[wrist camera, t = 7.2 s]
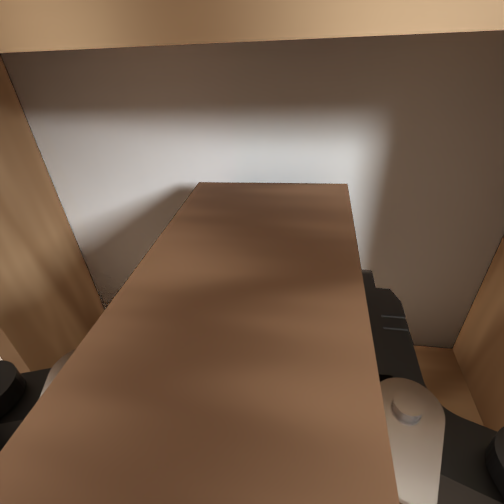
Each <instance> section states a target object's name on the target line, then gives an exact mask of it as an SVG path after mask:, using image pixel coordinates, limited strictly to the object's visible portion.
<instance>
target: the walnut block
mask: <svg viewBox="0 0 504 504" xmlns="http://www.w3.org/2000/svg"><path fill="white" fill-rule="evenodd" d="M0 504H400V502H399V496H398V490H397V484H396V478H395V472H394V466H393V459H392V453H391V447H390V441H389V435H388V429H387V423H386V417H385V411H384V405H383V398H382V392H381V386H380V380H379V374H378V368H377V362H376V356H375V350H374V344H373V337H372V331H371V325H370V319H369V313H368V307H367V301H366V295H365V289H364V283H363V276H362V270H361V264H360V258H359V252H358V246H357V240H356V234H355V228H354V222H353V215H352V209H351V203H350V197H349V191H348V185H347V184H312V183H211V182H199V183H198V185H197V186H196V187H195V189H194V190H193V191H192V193H191V194H190V195H189V197H188V198H187V200H186V201H185V202H184V204H183V205H182V206H181V208H180V209H179V210H178V212H177V213H176V214H175V216H174V217H173V218H172V220H171V221H170V223H169V224H168V225H167V227H166V228H165V229H164V231H163V232H162V233H161V235H160V236H159V237H158V239H157V240H156V241H155V243H154V244H153V246H152V247H151V248H150V250H149V251H148V252H147V254H146V255H145V256H144V258H143V259H142V260H141V262H140V263H139V265H138V266H137V267H136V269H135V270H134V271H133V273H132V274H131V275H130V277H129V278H128V279H127V281H126V282H125V283H124V285H123V286H122V288H121V289H120V290H119V292H118V293H117V294H116V296H115V297H114V298H113V300H112V301H111V302H110V304H109V305H108V306H107V308H106V309H105V311H104V312H103V313H102V315H101V316H100V317H99V319H98V320H97V321H96V323H95V324H94V325H93V327H92V328H91V329H90V331H89V332H88V334H87V335H86V336H85V338H84V339H83V340H82V342H81V343H80V344H79V346H78V347H77V348H76V350H75V351H74V353H73V354H72V355H71V357H70V358H69V359H68V361H67V362H66V363H65V365H64V366H63V367H62V369H61V370H60V371H59V373H58V374H57V376H56V377H55V378H54V380H53V381H52V382H51V384H50V385H49V386H48V388H47V389H46V390H45V392H44V393H43V394H42V396H41V397H40V399H39V400H38V401H37V403H36V404H35V405H34V407H33V408H32V409H31V411H30V412H29V413H28V415H27V416H26V417H25V419H24V420H23V422H22V423H21V424H20V426H19V427H18V428H17V430H16V431H15V432H14V434H13V435H12V436H11V438H10V439H9V441H8V442H7V443H6V445H5V446H4V447H3V449H2V450H1V451H0Z"/></svg>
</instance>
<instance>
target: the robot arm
mask: <svg viewBox="0 0 504 504" xmlns="http://www.w3.org/2000/svg"><path fill="white" fill-rule="evenodd" d="M362 276H363V283H364V289H365V295H366V301H367V307H368V313H369V319H370V325H371V331H372V337H373V344H374V350H375V356H376V362H377V368H378V374H379V380H380V386H381V392H382V398H383V405H384V411H385V417H386V423H387V429H388V435H389V441H390V447H391V453H392V459H393V466H394V472H395V478H396V484H397V490H398V496H399V502H400V504H504V427H502V428H501V429H500V430H499V431H498V432H497V431H494V430H492V429H489V428H487V427H484V426H482V425H479V424H477V423H474V422H472V421H469V420H467V419H464V418H462V417H460V416H458V415H456V414H454V413H452V412H451V411H449V410H448V409H446V408H445V407H443V406H442V405H441V404H440V402H439V401H438V399H437V398H436V397H435V396H434V395H433V394H432V393H431V392H430V391H429V390H428V389H427V387H426V385H425V383H424V380H423V377H422V373H421V370H420V366H419V363H418V359H417V356H416V352H415V349H414V345H413V342H412V338H411V335H410V332H409V328H408V324H407V321H406V319H405V314H404V310H403V307H402V303H401V301H400V300H399V299H398V298H397V297H396V295H395V294H394V293H393V292H392V291H391V290H390V289H383V288H375V284H374V279H373V274H372V271H371V270H362ZM75 350H76V349H74V350H72V351H70V352H68V353H67V354H65V355H64V356H62V357H61V358H60V359H59V360H58V361H57V362H56V363H55V364H54V365H53V367H52V368H48V369H42V370H37V371H31V372H26V373H20V372H19V371H18V370H17V368H16V367H15V366H14V364H13V363H11V362H9V361H4V360H1V361H0V451H1V450H2V449H3V447H4V446H5V445H6V443H7V442H8V441H9V439H10V438H11V436H12V435H13V434H14V432H15V431H16V430H17V428H18V427H19V426H20V424H21V423H22V422H23V420H24V419H25V417H26V416H27V415H28V413H29V412H30V411H31V409H32V408H33V407H34V405H35V404H36V403H37V401H38V400H39V399H40V397H41V396H42V394H43V393H44V392H45V390H46V389H47V388H48V386H49V385H50V384H51V382H52V381H53V380H54V378H55V377H56V376H57V374H58V373H59V371H60V370H61V369H62V367H63V366H64V365H65V363H66V362H67V361H68V359H69V358H70V357H71V355H72V354H73V353H74V351H75Z"/></svg>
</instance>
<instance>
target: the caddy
mask: <svg viewBox="0 0 504 504" xmlns="http://www.w3.org/2000/svg"><path fill="white" fill-rule="evenodd" d="M494 30H504V0H0V53H11V52H33V51H55V50H77V49H99V48H121V47H143V46H164V45H186V44H208V43H230V42H252V41H274V40H296V39H318V38H340V37H362V36H384V35H406V34H428V33H450V32H472V31H494ZM104 311H105V310H104V307H103V305H102V303H101V300H100V298H99V295H98V293H97V290H96V288H95V285H94V283H93V281H92V278H91V276H90V273H89V271H88V268H87V266H86V263H85V261H84V259H83V256H82V254H81V251H80V249H79V246H78V244H77V242H76V239H75V237H74V234H73V232H72V229H71V227H70V224H69V222H68V220H67V217H66V215H65V212H64V210H63V207H62V205H61V202H60V200H59V198H58V195H57V193H56V190H55V188H54V185H53V183H52V180H51V178H50V176H49V173H48V171H47V168H46V166H45V163H44V161H43V159H42V156H41V154H40V151H39V149H38V146H37V144H36V141H35V139H34V137H33V134H32V132H31V129H30V127H29V124H28V122H27V119H26V117H25V115H24V112H23V110H22V107H21V105H20V102H19V100H18V97H17V95H16V93H15V90H14V88H13V85H12V83H11V80H10V78H9V76H8V73H7V71H6V68H5V66H4V63H3V61H2V58H1V56H0V357H1V358H2V359H3V360H4V361H9V362H11V363H13V364H14V366H15V367H16V368H17V370H18V371H19V372H20V373H26V372H31V371H37V370H42V369H48V368H52V367H53V365H54V364H55V363H56V362H57V361H58V360H59V359H60V358H61V357H62V356H64V355H65V354H67V353H68V352H70V351H72V350H74V349H76V348H77V347H78V346H79V344H80V343H81V342H82V340H83V339H84V338H85V336H86V335H87V334H88V332H89V331H90V329H91V328H92V327H93V325H94V324H95V323H96V321H97V320H98V319H99V317H100V316H101V315H102V313H103V312H104ZM414 349H415V352H416V356H417V359H418V363H419V366H420V370H421V373H422V377H423V380H424V383H425V385H426V387H427V389H428V390H429V391H430V392H431V393H432V394H433V395H434V396H435V397H436V398H437V399H438V401H439V402H440V404H441V405H442V406H443V407H445V408H446V409H448V410H449V411H451V412H452V413H454V414H456V415H458V416H460V417H462V418H464V419H467V420H469V421H472V422H474V423H477V424H479V425H482V426H484V427H487V428H489V429H492V430H494V431H497V432H498V431H499V430H500V429H501V428H502V427H504V236H503V238H502V240H501V242H500V245H499V247H498V249H497V251H496V253H495V256H494V258H493V260H492V262H491V264H490V267H489V269H488V271H487V273H486V275H485V278H484V280H483V282H482V284H481V287H480V289H479V291H478V293H477V295H476V298H475V300H474V302H473V304H472V306H471V309H470V311H469V313H468V315H467V317H466V320H465V322H464V324H463V326H462V328H461V331H460V333H459V335H458V337H457V339H456V342H455V344H454V346H453V348H452V349H449V348H438V347H427V346H416V345H414Z"/></svg>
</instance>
